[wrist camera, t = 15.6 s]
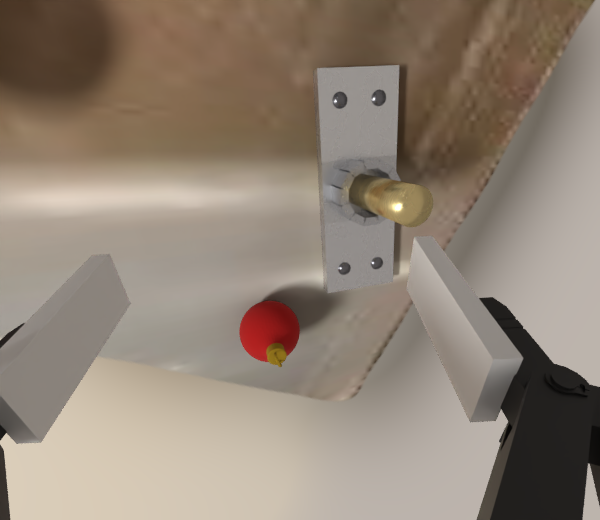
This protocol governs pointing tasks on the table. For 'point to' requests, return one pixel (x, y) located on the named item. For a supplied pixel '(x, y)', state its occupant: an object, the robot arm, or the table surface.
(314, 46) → the table surface
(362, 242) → the hinge leaves
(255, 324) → the christmas ornament
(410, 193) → the hinge pin
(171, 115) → the table surface
